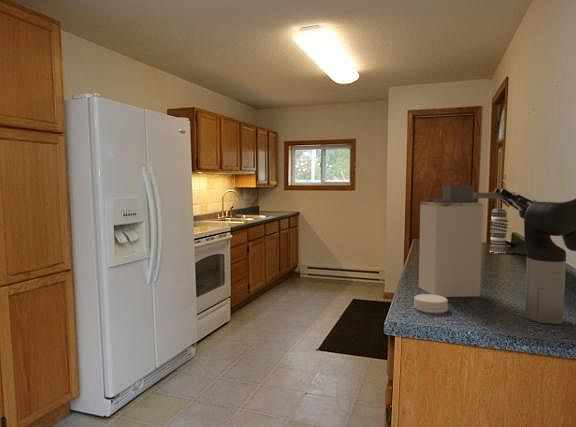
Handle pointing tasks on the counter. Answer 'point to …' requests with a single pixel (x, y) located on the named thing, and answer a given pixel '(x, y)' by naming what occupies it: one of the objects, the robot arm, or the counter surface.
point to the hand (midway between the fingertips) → (498, 191)
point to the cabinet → (450, 247)
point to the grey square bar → (466, 194)
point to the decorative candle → (498, 231)
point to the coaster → (430, 303)
